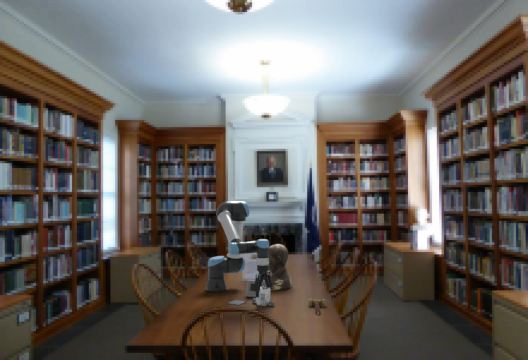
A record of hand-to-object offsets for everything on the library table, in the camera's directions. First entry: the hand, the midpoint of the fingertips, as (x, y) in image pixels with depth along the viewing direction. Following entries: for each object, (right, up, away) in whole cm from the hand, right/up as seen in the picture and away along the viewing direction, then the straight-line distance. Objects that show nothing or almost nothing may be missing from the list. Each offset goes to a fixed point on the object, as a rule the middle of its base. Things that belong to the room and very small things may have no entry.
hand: (263, 300), depth 241 cm
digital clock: (-4, -4, +19) cm, 19 cm away
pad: (-17, -3, +3) cm, 17 cm away
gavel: (+32, -3, -13) cm, 34 cm away
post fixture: (0, -3, 0) cm, 3 cm away
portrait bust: (+11, -5, +53) cm, 55 cm away
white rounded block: (0, -3, 0) cm, 3 cm away
